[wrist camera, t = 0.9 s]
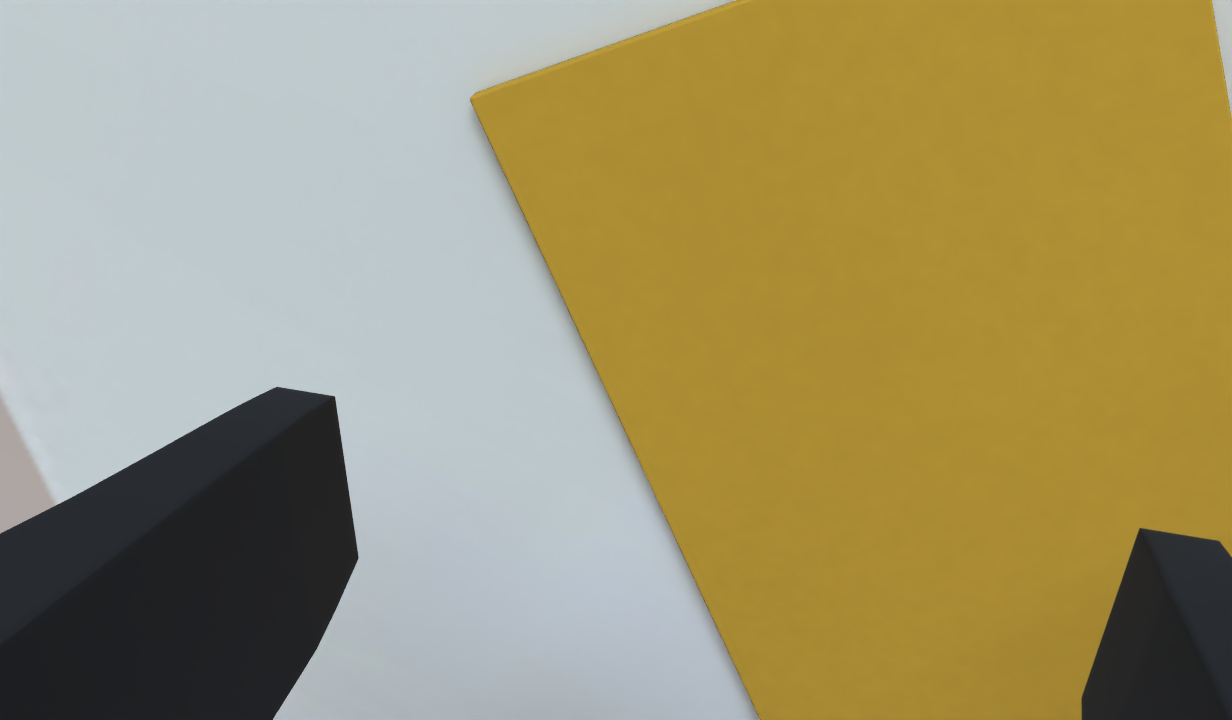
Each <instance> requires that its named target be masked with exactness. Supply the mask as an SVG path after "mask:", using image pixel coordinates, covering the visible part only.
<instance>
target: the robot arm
mask: <svg viewBox="0 0 1232 720" xmlns="http://www.w3.org/2000/svg"><path fill="white" fill-rule="evenodd" d="M357 561H358V551H357V544H356V537H355V531H354V524H353V517H352V510H351V503H350V496H349V490H348V483H347V476H346V469H345V462H344V456H343V449H342V442H341V435H340V428H339V421H338V415H337V408H336V401H335V396H329V395H323V394H317V393H311V392H305V391H299V390H293V389H286V388H280V387H276V388H273V389H271V390H269V391H267V392H265V393H263V394H261V395H259V396H257V397H255V398H253V399H251V400H249V401H247V402H245V403H243V404H241V405H239V406H237V407H235V408H233V409H232V410H230V411H228V412H226V413H224V414H222V415H220V416H219V417H217V418H215V419H213V420H211V421H210V422H208V423H206V424H204V425H202V426H200V427H199V428H197V429H195V430H193V431H192V432H190V433H188V434H186V435H184V436H183V437H181V438H179V439H177V440H175V441H174V442H172V443H170V444H168V445H166V446H165V447H163V448H161V449H159V450H158V451H156V452H154V453H152V454H150V455H148V456H147V457H145V458H143V459H141V460H139V461H138V462H136V463H134V464H132V465H130V466H128V467H127V468H125V469H123V470H121V471H119V472H118V473H116V474H114V475H112V476H110V477H108V478H107V479H105V480H103V481H101V482H99V483H98V484H96V485H94V486H92V487H90V488H88V489H87V490H85V491H83V492H81V493H79V494H77V495H76V496H74V497H72V498H70V499H68V500H66V501H64V502H62V503H60V504H58V505H56V506H54V507H52V508H50V509H48V510H46V511H44V512H42V513H40V514H39V515H36V516H35V517H32V518H30V519H28V520H27V521H24V522H22V523H21V524H19V525H17V526H15V527H13V528H11V529H9V530H7V531H5V532H3V533H1V534H0V720H273V718H274V716H275V715H276V713H277V712H278V710H279V709H280V707H281V705H282V704H283V702H284V701H285V699H286V697H287V696H288V694H289V693H290V691H291V689H292V688H293V686H294V685H295V683H296V682H297V680H298V678H299V677H300V675H301V674H302V672H303V670H304V669H305V667H306V665H307V664H308V662H309V661H310V659H311V657H312V656H313V654H314V652H315V651H316V649H317V647H318V645H319V643H320V641H321V639H322V637H323V635H324V633H325V631H326V629H327V626H328V624H329V622H330V620H331V618H332V616H333V614H334V612H335V610H336V608H337V606H338V603H339V601H340V599H341V597H342V594H343V592H344V590H345V588H346V585H347V583H348V581H349V579H350V576H351V574H352V572H353V570H354V567H355V565H356V563H357ZM1081 704H1082V720H1232V557H1231V556H1230V554H1229V553H1228V552H1227V550H1226V549H1225V548H1224V546H1223V545H1222V544H1221V542H1220V541H1217V540H1211V539H1205V538H1199V537H1193V536H1187V535H1180V534H1174V533H1168V532H1162V531H1156V530H1150V529H1144V528H1139V531H1138V534H1137V537H1136V540H1135V542H1134V545H1133V548H1132V551H1131V554H1130V557H1129V560H1128V563H1127V566H1126V569H1125V572H1124V575H1123V578H1122V580H1121V583H1120V586H1119V589H1118V592H1117V595H1116V598H1115V601H1114V604H1113V607H1112V610H1111V613H1110V616H1109V619H1108V621H1107V624H1106V627H1105V630H1104V633H1103V636H1102V639H1101V642H1100V645H1099V648H1098V651H1097V654H1096V657H1095V660H1094V662H1093V665H1092V668H1091V671H1090V674H1089V677H1088V680H1087V683H1086V686H1085V689H1084V692H1083V695H1082V698H1081Z"/></svg>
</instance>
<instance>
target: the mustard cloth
mask: <svg viewBox="0 0 1232 720" xmlns="http://www.w3.org/2000/svg"><path fill="white" fill-rule="evenodd" d="M470 101H471V103H472V105H473V107H474V109H475V111H476V114H477V116H478V118H479V120H480V122H481V124H482V126H483V129H484V131H485V133H486V135H487V137H488V139H489V141H490V144H491V146H492V148H493V150H494V152H495V154H496V156H497V158H498V161H499V163H500V165H501V167H502V169H503V171H504V173H505V176H506V178H507V180H508V182H509V184H510V186H511V188H512V190H513V193H514V195H515V197H516V199H517V201H518V203H519V205H520V208H521V210H522V212H523V214H524V216H525V218H526V220H527V223H528V225H529V227H530V229H531V231H532V233H533V235H534V237H535V240H536V242H537V244H538V246H539V248H540V250H541V252H542V255H543V257H544V259H545V261H546V263H547V265H548V267H549V270H550V272H551V274H552V276H553V278H554V280H555V282H556V284H557V287H558V289H559V291H560V293H561V295H562V297H563V299H564V302H565V304H566V306H567V308H568V310H569V312H570V314H571V317H572V319H573V321H574V323H575V325H576V327H577V329H578V331H579V334H580V336H581V338H582V340H583V342H584V344H585V346H586V349H587V351H588V353H589V355H590V357H591V359H592V361H593V364H594V366H595V368H596V370H597V372H598V374H599V376H600V378H601V381H602V383H603V385H604V387H605V389H606V391H607V393H608V396H609V398H610V400H611V402H612V404H613V406H614V408H615V411H616V413H617V415H618V417H619V419H620V421H621V423H622V425H623V428H624V430H625V432H626V434H627V436H628V438H629V440H630V443H631V445H632V447H633V449H634V451H635V453H636V455H637V458H638V460H639V462H640V464H641V466H642V468H643V470H644V472H645V475H646V477H647V479H648V481H649V483H650V485H651V487H652V490H653V492H654V494H655V496H656V498H657V500H658V502H659V505H660V507H661V509H662V511H663V513H664V515H665V517H666V519H667V522H668V524H669V526H670V528H671V530H672V532H673V534H674V537H675V539H676V541H677V543H678V545H679V547H680V549H681V552H682V554H683V556H684V558H685V560H686V562H687V564H688V566H689V569H690V571H691V573H692V575H693V577H694V579H695V581H696V584H697V586H698V588H699V590H700V592H701V594H702V596H703V599H704V601H705V603H706V605H707V607H708V609H709V611H710V613H711V616H712V618H713V620H714V622H715V624H716V626H717V628H718V631H719V633H720V635H721V637H722V639H723V641H724V643H725V646H726V648H727V650H728V652H729V654H730V656H731V658H732V660H733V663H734V665H735V667H736V669H737V671H738V673H739V675H740V678H741V680H742V682H743V684H744V686H745V688H746V690H747V693H748V695H749V697H750V699H751V701H752V703H753V705H754V707H755V710H756V712H757V714H758V716H759V718H760V720H1082V704H1081V698H1082V695H1083V692H1084V689H1085V686H1086V683H1087V680H1088V677H1089V674H1090V671H1091V668H1092V665H1093V662H1094V660H1095V657H1096V654H1097V651H1098V648H1099V645H1100V642H1101V639H1102V636H1103V633H1104V630H1105V627H1106V624H1107V621H1108V619H1109V616H1110V613H1111V610H1112V607H1113V604H1114V601H1115V598H1116V595H1117V592H1118V589H1119V586H1120V583H1121V580H1122V578H1123V575H1124V572H1125V569H1126V566H1127V563H1128V560H1129V557H1130V554H1131V551H1132V548H1133V545H1134V542H1135V540H1136V537H1137V534H1138V531H1139V528H1144V529H1150V530H1156V531H1162V532H1168V533H1174V534H1180V535H1187V536H1193V537H1199V538H1205V539H1211V540H1217V541H1220V542H1221V544H1222V545H1223V546H1224V548H1225V549H1226V550H1227V552H1228V553H1229V554H1230V556H1231V557H1232V118H1231V112H1230V106H1229V100H1228V94H1227V88H1226V82H1225V76H1224V70H1223V64H1222V59H1221V53H1220V47H1219V41H1218V35H1217V29H1216V23H1215V17H1214V11H1213V5H1212V0H736V1H733V2H730V3H727V4H725V5H722V6H719V7H716V8H713V9H711V10H708V11H705V12H702V13H699V14H696V15H694V16H691V17H688V18H685V19H682V20H680V21H677V22H674V23H671V24H668V25H665V26H663V27H660V28H657V29H654V30H651V31H649V32H646V33H643V34H640V35H637V36H634V37H632V38H629V39H626V40H623V41H620V42H618V43H615V44H612V45H609V46H606V47H603V48H601V49H598V50H595V51H592V52H589V53H587V54H584V55H581V56H578V57H575V58H572V59H570V60H567V61H564V62H561V63H558V64H555V65H553V66H550V67H547V68H544V69H541V70H539V71H536V72H533V73H530V74H527V75H524V76H522V77H519V78H516V79H513V80H510V81H508V82H505V83H502V84H499V85H496V86H493V87H491V88H488V89H485V90H482V91H479V92H477V93H475V94H474V95H473V96H472V97H471V98H470Z"/></svg>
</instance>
